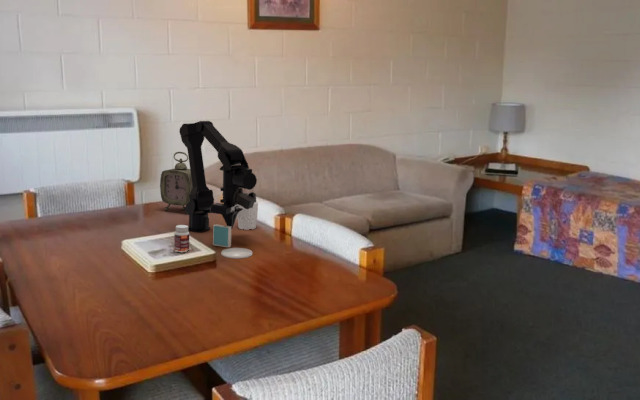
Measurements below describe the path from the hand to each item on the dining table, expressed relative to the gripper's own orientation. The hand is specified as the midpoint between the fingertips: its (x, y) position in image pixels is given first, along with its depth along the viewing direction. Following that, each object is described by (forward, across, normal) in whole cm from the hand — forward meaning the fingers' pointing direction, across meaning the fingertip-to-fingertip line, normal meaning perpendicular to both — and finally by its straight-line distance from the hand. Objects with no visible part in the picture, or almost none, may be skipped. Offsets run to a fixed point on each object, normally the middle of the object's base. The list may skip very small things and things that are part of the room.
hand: (230, 229), depth 210 cm
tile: (+5, -6, 0) cm, 7 cm away
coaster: (+4, -12, -9) cm, 16 cm away
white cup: (+5, +20, +4) cm, 21 cm away
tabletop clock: (+5, +30, +40) cm, 50 cm away
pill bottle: (+5, -18, +8) cm, 20 cm away
